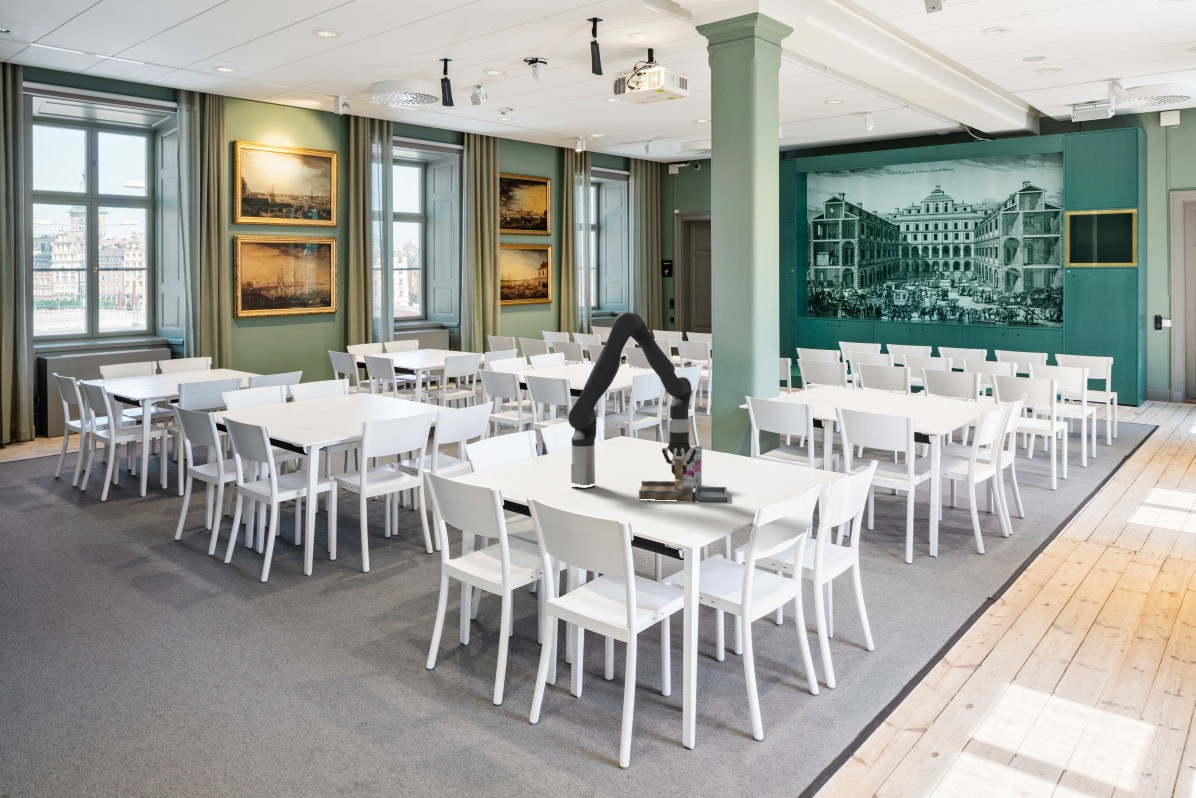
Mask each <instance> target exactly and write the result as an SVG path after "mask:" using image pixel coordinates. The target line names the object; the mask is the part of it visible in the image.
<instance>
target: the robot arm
mask: <svg viewBox="0 0 1196 798" xmlns="http://www.w3.org/2000/svg"><path fill="white" fill-rule="evenodd" d="M630 338H632V339H633V340H634V341H635V342H636V343H637V344H638V345H639V347H640V348H641V350H642V352H643V353H644V356H645V358H646V361H647V362H648V365H649V366H650V367H651V369H653V371H654V373H656V375H657V377H659V379H660V381H661V384H662V386H663V387H664V390H665V391H666V392H667V394H669V395H670V396H671V397H673V401H672V403H671V404H670V406H669V423H668V437H669V438H668V439H669V440H668V442H669V443H668V445H667V446H666V447H663V448H661V453H662V454H663V457H664V459H665V462H666V463H667V464H669V465H671V473H672V474H673V475H674V476H675V460H676V457H677V456H681V457H682V459H683V475H685V473H686V471H687V464H691V462H692V460H693V458H694V456H695V453H696V449H695V448H691V447H690V445H689V444H690V421H689V405H690V401H691V397H692V396H691V395H692V383H691V381H690V380H689V379H688V378H687V377H685V376H682V377H681V376H680V377H678V376H677V374H676V373H675V370H676V368H675V365H674V364H673V362H672V361H671V360H670V359H669V357H668V356H667V355H666V354H665V353H664V351H663V350H662V349H661V348H660V346H659V345H658V343H657V342H656V340H655V338H654V337H653V336H652V334H651V332H650V330H649V329H648V327H647V325H646V323H645V322H644V320H643V318H642V317H641V316H640V314H638V313H636V312H623V313H620V314H618V315H617V316H616V318H615V319H614V321H613V325H612V327H611V330H610V332H609V335H608V338H607V340H606V342H605V344H604V346H603V348H602V350H601V352H600V354H599V356H598V358H597V360H596V361H595V364H594V365H593V367H592V370H591V372H590V373H589V376H588V378H587V380H586V382H585V384H584V387H583V389H582V391H581V393H580V395H579V397H578V398H577V400H576V401H575V403H574V404H573V406H572V408H571V409H570V410H569V413H568V423H569V425H570V427H571V428H573V429H574V433H573V435H572V437H571V464H570V469H571V470H570V473H571V474H570V476H571V483H575V484H580V485H590V484H594V483H595V484H596V460H595V458H596V457H595V456H596V451H595V447H596V446H595V440H596V436H597V412H596V410H595V406H596V405H597V403H598V401H599V400H600V399H601V397H603V395H604V394H605V393H606V391H607V390H608V389H609V387H610V386H611V384H612V383H613V381H614V379H615V377H616V375H617V373H618V372H619V369H620V365H621V358H622V357H621V356H622V352H623V349H624V348H625V345H626V344H627V342H628V340H629V339H630ZM689 450H690V453H691V456H690V458H689V460H687V461H686V454H687V452H688V451H689ZM669 452H670V453H671V455H672V458H671V459H670V457H669V455H668V453H669Z"/></svg>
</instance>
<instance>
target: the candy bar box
mask: <svg viewBox="0 0 1196 798" xmlns="http://www.w3.org/2000/svg"><path fill="white" fill-rule="evenodd" d="M689 445H690V447H691V448H695V449H696V453H695V456H694V458H693V460H692V462H691V464H687V471H686V473H685V475H683V477H694V488H695V487H696V486H698V487H702V476H703V475H702V469H703V468H702V465H703V464H702V463H703V462H702V461H703V460H702V457H703V456H702V451H703V450H702V449H703V447H702V445H697V444H692V443H689ZM690 456H691V453H690V450H689V451H688V452H687V454H686V461H687V460H689V458H690ZM676 459H682V457H681V456H677V457H676Z"/></svg>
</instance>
